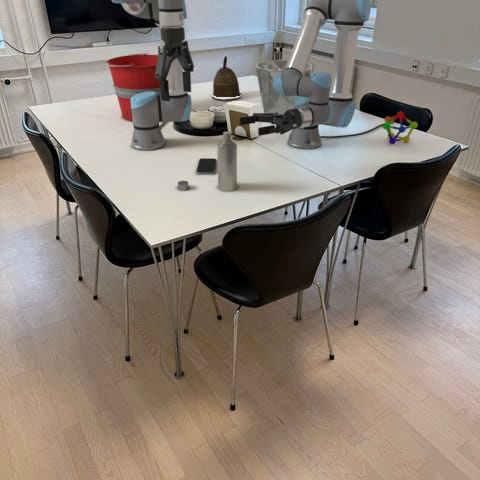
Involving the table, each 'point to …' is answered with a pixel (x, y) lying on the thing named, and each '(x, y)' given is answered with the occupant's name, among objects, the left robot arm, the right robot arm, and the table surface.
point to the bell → (225, 82)
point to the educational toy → (398, 128)
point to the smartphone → (206, 166)
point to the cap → (183, 185)
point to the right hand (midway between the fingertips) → (249, 126)
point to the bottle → (227, 163)
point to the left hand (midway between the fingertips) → (176, 96)
